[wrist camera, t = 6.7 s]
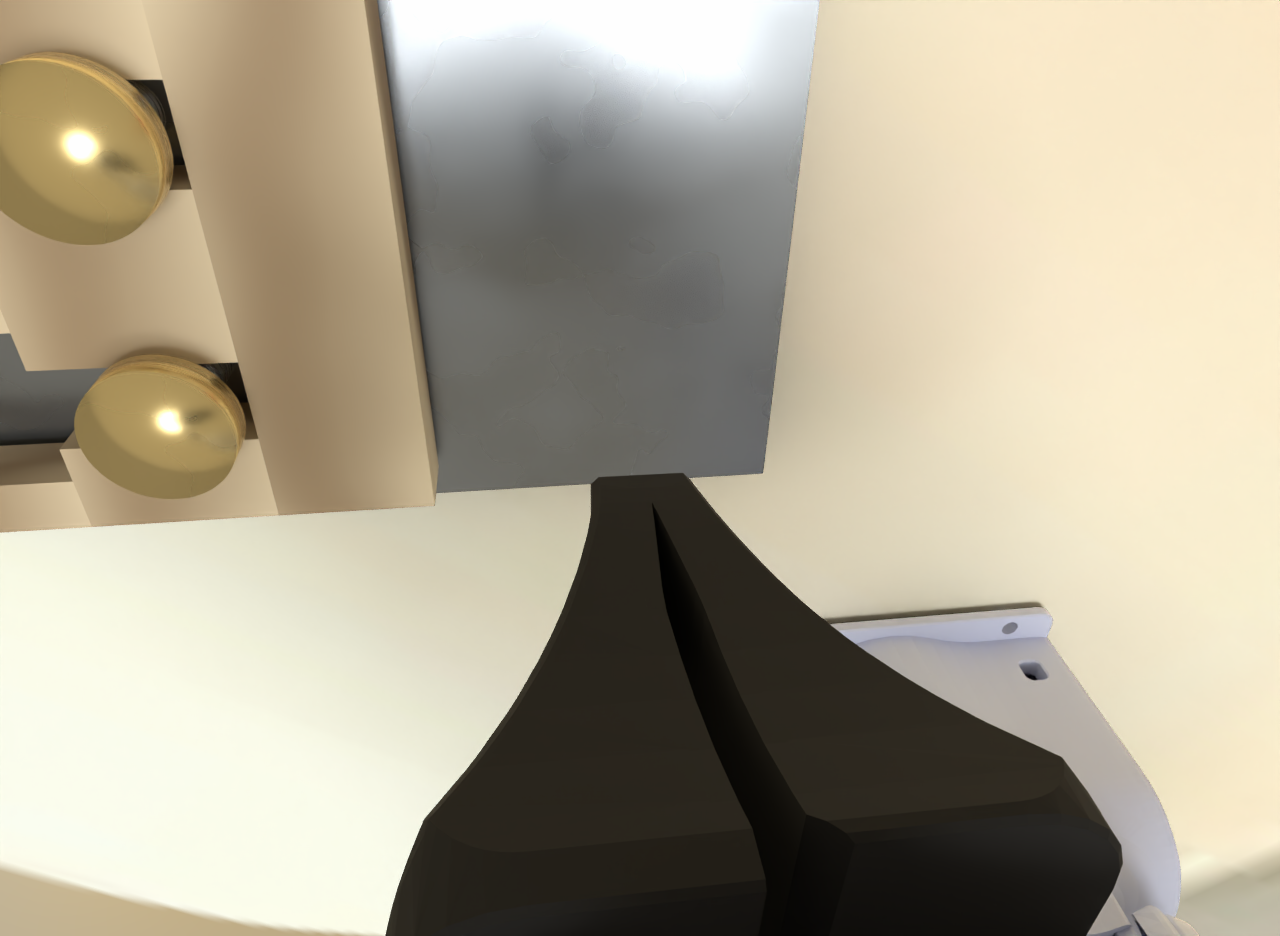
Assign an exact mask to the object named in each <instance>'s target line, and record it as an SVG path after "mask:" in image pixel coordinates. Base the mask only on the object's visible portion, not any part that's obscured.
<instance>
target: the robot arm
mask: <svg viewBox="0 0 1280 936" xmlns="http://www.w3.org/2000/svg"><path fill="white" fill-rule="evenodd" d="M1052 623H1053V618H1052V616H1051V615H1050V614H1049V612H1048V611H1047V610H1046V609H1045V608H1043V607H1032V608H1020V609H1008V610H996V611H983V612H971V613H959V614H947V615H935V616H922V617H910V618H898V619H886V620H874V621H861V622H849V623H837V624H829V623H828V622H826V621H825V620H824V619H822V618H821V617H820V616H819V615H817V614H816V613H815V612H814V611H812V610H811V609H810V608H809V607H808V606H807V605H806V604H804V603H803V602H802V601H801V600H800V599H799V598H798V597H797V596H796V595H794V594H793V593H792V592H791V591H790V590H789V589H788V588H787V587H786V586H785V585H784V584H783V583H782V582H781V581H780V580H778V579H777V578H776V577H775V576H774V575H773V574H772V573H771V572H770V571H769V570H768V569H767V568H766V567H765V566H764V565H763V564H762V563H761V562H760V560H759V559H758V558H757V557H756V556H755V555H754V554H753V553H752V552H751V551H750V550H749V549H748V548H747V547H746V546H745V544H744V543H743V542H742V541H741V540H740V539H739V538H738V537H737V536H736V535H735V534H734V532H733V531H732V530H731V529H730V528H729V527H728V526H727V524H726V523H725V522H724V521H723V520H722V519H721V517H720V516H719V515H718V514H717V513H716V512H715V510H714V509H713V508H712V507H711V505H710V504H709V503H708V502H707V501H706V499H705V498H704V497H703V496H702V494H701V493H700V492H699V491H698V489H697V488H696V487H695V485H694V484H693V483H692V482H691V480H690V479H689V478H688V477H687V476H686V475H685V474H684V473H667V474H648V475H628V476H608V477H598V478H597V479H596V480H595V481H594V482H593V483H591V518H590V524H589V529H588V534H587V538H586V542H585V545H584V549H583V553H582V556H581V560H580V563H579V567H578V570H577V573H576V576H575V579H574V581H573V584H572V587H571V589H570V592H569V594H568V597H567V600H566V602H565V605H564V608H563V610H562V613H561V615H560V617H559V619H558V622H557V624H556V626H555V628H554V631H553V633H552V635H551V637H550V639H549V641H548V643H547V645H546V647H545V649H544V651H543V653H542V655H541V657H540V659H539V661H538V663H537V664H536V666H535V668H534V670H533V671H532V673H531V675H530V677H529V678H528V680H527V682H526V684H525V685H524V687H523V689H522V691H521V692H520V694H519V696H518V697H517V699H516V700H515V702H514V704H513V705H512V707H511V708H510V710H509V711H508V713H507V714H506V716H505V717H504V719H503V720H502V721H501V723H500V724H499V726H498V727H497V728H496V730H495V731H494V733H493V734H492V736H491V737H490V738H489V740H488V741H487V743H486V744H485V745H484V747H483V748H482V750H481V751H480V752H479V754H478V755H477V757H476V758H475V759H474V761H473V762H472V763H471V764H470V766H469V767H468V768H467V770H466V771H465V772H464V773H463V774H462V775H461V777H460V778H459V779H458V780H457V781H456V783H455V784H454V785H453V786H452V787H451V788H450V790H449V791H448V792H447V793H446V794H445V795H444V797H443V798H442V799H441V800H440V801H439V803H438V804H437V805H436V806H435V807H434V808H433V810H432V811H431V812H430V813H429V814H428V815H427V817H426V818H425V819H424V821H423V823H422V826H421V828H420V830H419V833H418V835H417V838H416V840H415V843H414V845H413V848H412V850H411V853H410V855H409V858H408V861H407V863H406V866H405V869H404V872H403V874H402V877H401V880H400V883H399V886H398V889H397V892H396V896H395V899H394V902H393V906H392V910H391V914H390V918H389V922H388V927H387V931H386V936H1200V935H1199V934H1198V933H1197V932H1196V930H1195V929H1194V928H1193V927H1192V926H1191V925H1190V924H1189V923H1187V922H1185V921H1182V920H1180V919H1178V918H1175V916H1176V913H1177V910H1178V905H1179V900H1180V892H1181V869H1180V862H1179V856H1178V852H1177V848H1176V844H1175V840H1174V837H1173V834H1172V831H1171V828H1170V825H1169V822H1168V819H1167V816H1166V814H1165V812H1164V809H1163V807H1162V805H1161V802H1160V800H1159V798H1158V796H1157V795H1156V793H1155V791H1154V789H1153V787H1152V785H1151V784H1150V782H1149V780H1148V779H1147V777H1146V776H1145V774H1144V773H1143V771H1142V770H1141V768H1140V767H1139V766H1138V764H1137V763H1136V761H1135V760H1134V759H1133V757H1132V756H1131V754H1130V753H1129V752H1128V750H1127V749H1126V747H1125V746H1124V745H1123V743H1122V742H1121V740H1120V739H1119V737H1118V736H1117V735H1116V733H1115V732H1114V730H1113V729H1112V728H1111V726H1110V725H1109V723H1108V722H1107V721H1106V719H1105V718H1104V716H1103V715H1102V714H1101V712H1100V711H1099V709H1098V708H1097V707H1096V705H1095V704H1094V702H1093V701H1092V700H1091V698H1090V697H1089V695H1088V694H1087V693H1086V691H1085V690H1084V688H1083V687H1082V686H1081V684H1080V683H1079V681H1078V680H1077V679H1076V677H1075V676H1074V674H1073V673H1072V672H1071V670H1070V669H1069V667H1068V666H1067V665H1066V663H1065V662H1064V660H1063V659H1062V658H1061V656H1060V655H1059V653H1058V652H1057V651H1056V649H1055V648H1054V646H1053V645H1052V643H1051V642H1050V641H1049V639H1048V638H1047V636H1048V634H1049V631H1050V628H1051V626H1052Z"/></svg>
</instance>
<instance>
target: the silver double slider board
mask: <svg viewBox="0 0 1280 936" xmlns="http://www.w3.org/2000/svg"><path fill="white" fill-rule="evenodd" d="M819 2H820V0H377V4H378V12H379V19H380V27H381V34H382V42H383V49H384V57H385V65H386V72H387V80H388V87H389V95H390V102H391V110H392V117H393V125H394V132H395V140H396V148H397V155H398V163H399V170H400V178H401V185H402V193H403V200H404V208H405V215H406V223H407V231H408V238H409V246H410V253H411V261H412V268H413V276H414V283H415V291H416V298H417V306H418V314H419V321H420V329H421V336H422V344H423V351H424V359H425V366H426V374H427V381H428V389H429V396H430V404H431V412H432V419H433V427H434V434H435V442H436V449H437V457H438V464H439V469H438V479H437V488H436V493H445V492H462V491H479V490H495V489H512V488H529V487H545V486H562V485H579V484H591V483H593V482H594V481H595V480H596V479H597V478H598V477H608V476H628V475H648V474H667V473H684V474H685V475H686V476H687V477H688V478H695V477H712V476H728V475H745V474H762V473H763V469H764V461H765V453H766V444H767V436H768V428H769V419H770V411H771V403H772V394H773V386H774V378H775V369H776V361H777V353H778V344H779V336H780V327H781V319H782V311H783V302H784V294H785V286H786V277H787V269H788V261H789V252H790V244H791V236H792V227H793V219H794V211H795V202H796V194H797V186H798V177H799V169H800V160H801V152H802V144H803V135H804V127H805V119H806V110H807V102H808V94H809V85H810V77H811V69H812V60H813V52H814V44H815V35H816V27H817V19H818V10H819ZM174 165H185V161H184V158H183V154H182V150H181V147H180V143H179V139H178V135H177V132H176V128H175V124H174V120H173V117H172V113H171V109H170V105H169V102H168V98H167V94H166V90H165V87H164V83H163V80H125V79H124V78H122V77H121V76H119V75H118V74H117V73H115V72H114V71H112V70H110V69H108V68H107V67H105V66H103V65H101V64H99V63H97V62H94V61H92V60H90V59H87V58H84V57H80V56H77V55H73V54H68V53H63V52H37V53H33V54H28V55H24V56H22V57H19V58H17V59H14V60H12V61H9V62H7V63H4V64H1V65H0V210H1V211H2V212H3V213H4V214H5V215H7V216H8V217H10V218H11V219H12V220H14V221H15V222H16V223H18V224H20V225H22V226H23V227H25V228H27V229H28V230H30V231H32V232H35V233H37V234H39V235H41V236H44V237H47V238H49V239H52V240H56V241H59V242H63V243H68V244H75V245H99V244H105V243H110V242H114V241H116V240H119V239H122V238H124V237H126V236H127V235H129V234H131V233H132V232H134V231H135V230H136V229H137V228H139V227H140V226H141V225H142V224H143V223H144V222H145V221H146V220H147V219H148V218H149V217H150V216H151V215H152V214H153V213H154V212H155V211H156V210H157V209H158V208H159V206H160V205H161V204H162V203H163V201H164V199H165V198H166V196H167V194H168V192H169V189H170V187H171V183H172V178H173V168H174ZM248 402H249V401H248V398H247V394H246V390H245V386H244V383H243V379H242V375H241V371H240V368H239V364H238V362H236V363H211V364H196V363H193V362H191V361H188V360H185V359H182V358H179V357H174V356H170V355H162V354H144V355H137V356H132V357H128V358H126V359H123V360H120V361H118V362H116V363H115V364H113V365H111V366H110V367H109V368H91V369H67V370H43V371H26V369H25V367H24V365H23V362H22V360H21V357H20V355H19V353H18V350H17V348H16V346H15V343H14V341H13V339H12V336H11V334H10V333H4V334H0V446H8V445H28V444H47V443H65V441H66V440H67V439H68V437H69V436H70V435H71V433H72V432H73V431H74V430H75V435H76V438H77V442H78V444H79V446H80V448H81V450H82V452H83V454H84V455H85V457H86V458H87V460H88V461H89V462H90V463H91V464H92V466H93V467H94V468H95V469H96V470H98V471H99V472H100V473H101V474H102V475H103V476H105V477H106V478H107V479H109V480H110V481H112V482H113V483H115V484H117V485H118V486H120V487H123V488H125V489H127V490H129V491H132V492H134V493H137V494H140V495H144V496H148V497H153V498H160V499H183V498H190V497H194V496H198V495H200V494H203V493H206V492H208V491H210V490H212V489H213V488H215V487H216V486H218V485H219V484H220V483H221V482H222V481H223V480H224V479H225V478H226V477H227V475H228V474H229V473H230V471H231V469H232V467H233V465H234V463H235V460H236V458H237V456H238V454H239V452H240V449H241V447H242V445H243V442H244V439H245V433H246V421H245V416H244V412H243V410H242V407H241V405H240V403H248Z"/></svg>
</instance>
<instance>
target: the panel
mask: <svg viewBox="0 0 1280 936" xmlns="http://www.w3.org/2000/svg"><path fill="white" fill-rule="evenodd" d="M37 52H63V53H68V54H73V55H77V56H80V57H84V58H87V59H90V60H92V61H94V62H97V63H99V64H101V65H103V66H105V67H107V68H108V69H110V70H112V71H114V72H115V73H117V74H118V75H119V76H121V77H122V78H124V79H125V80H163V83H164V87H165V90H166V94H167V98H168V102H169V105H170V109H171V113H172V117H173V120H174V124H175V128H176V132H177V135H178V139H179V143H180V147H181V150H182V154H183V158H184V161H185V165H174V168H173V178H172V183H171V187H170V189H169V192H168V194H167V196H166V198H165V199H164V201H163V203H162V204H161V205H160V206H159V208H158V209H157V210H156V211H155V212H154V213H153V214H152V215H151V216H150V217H149V218H148V219H147V220H146V221H145V222H144V223H143V224H142V225H141V226H140V227H139V228H137V229H136V230H135V231H134V232H132V233H131V234H129V235H127V236H126V237H124V238H122V239H119V240H116V241H114V242H110V243H105V244H99V245H75V244H68V243H63V242H59V241H56V240H52V239H49V238H47V237H44V236H41V235H39V234H37V233H35V232H32V231H30V230H28V229H27V228H25V227H23V226H22V225H20V224H18V223H16V222H15V221H14V220H12V219H11V218H10V217H8V216H7V215H5V214H4V213H3V212H2V211H1V210H0V334H4V333H10V334H11V336H12V339H13V341H14V343H15V346H16V348H17V350H18V353H19V355H20V357H21V360H22V362H23V365H24V367H25V369H26V371H43V370H67V369H91V368H109V367H110V366H111V365H113V364H115V363H116V362H118V361H120V360H123V359H126V358H128V357H132V356H137V355H144V354H162V355H170V356H174V357H179V358H182V359H185V360H188V361H191V362H193V363H196V364H211V363H236V362H238V364H239V368H240V371H241V375H242V379H243V383H244V386H245V390H246V394H247V398H248V401H249V402H248V403H240V405H241V407H242V410H243V412H244V416H245V421H246V433H245V439H244V442H243V445H242V447H241V449H240V452H239V454H238V456H237V458H236V460H235V463H234V465H233V467H232V469H231V471H230V473H229V474H228V475H227V477H226V478H225V479H224V480H223V481H222V482H221V483H220V484H219V485H218V486H216V487H215V488H213V489H212V490H210V491H208V492H206V493H203V494H200V495H198V496H194V497H190V498H183V499H160V498H153V497H148V496H144V495H140V494H137V493H134V492H132V491H129V490H127V489H125V488H123V487H120V486H118V485H117V484H115V483H113V482H112V481H110V480H109V479H107V478H106V477H105V476H103V475H102V474H101V473H100V472H99V471H98V470H96V469H95V468H94V467H93V466H92V464H91V463H90V462H89V461H88V460H87V458H86V457H85V455H84V454H83V452H82V450H81V448H80V446H79V444H78V442H77V438H76V435H75V430H74V431H73V432H72V433H71V435H70V436H69V437H68V439H67V440H66V441H65V443H47V444H28V445H8V446H0V532H16V531H33V530H49V529H65V528H81V527H97V526H114V525H130V524H146V523H162V522H178V521H194V520H211V519H227V518H243V517H259V516H275V515H292V514H308V513H324V512H340V511H356V510H373V509H389V508H405V507H421V506H435V498H436V488H437V479H438V469H439V464H438V457H437V449H436V442H435V434H434V427H433V419H432V412H431V404H430V396H429V389H428V381H427V374H426V366H425V359H424V351H423V344H422V336H421V329H420V321H419V314H418V306H417V298H416V291H415V283H414V276H413V268H412V261H411V253H410V246H409V238H408V231H407V223H406V215H405V208H404V200H403V193H402V185H401V178H400V170H399V163H398V155H397V148H396V140H395V132H394V125H393V117H392V110H391V102H390V95H389V87H388V80H387V72H386V65H385V57H384V49H383V42H382V34H381V27H380V19H379V12H378V4H377V0H0V65H1V64H4V63H7V62H9V61H12V60H14V59H17V58H19V57H22V56H24V55H28V54H33V53H37Z"/></svg>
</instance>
